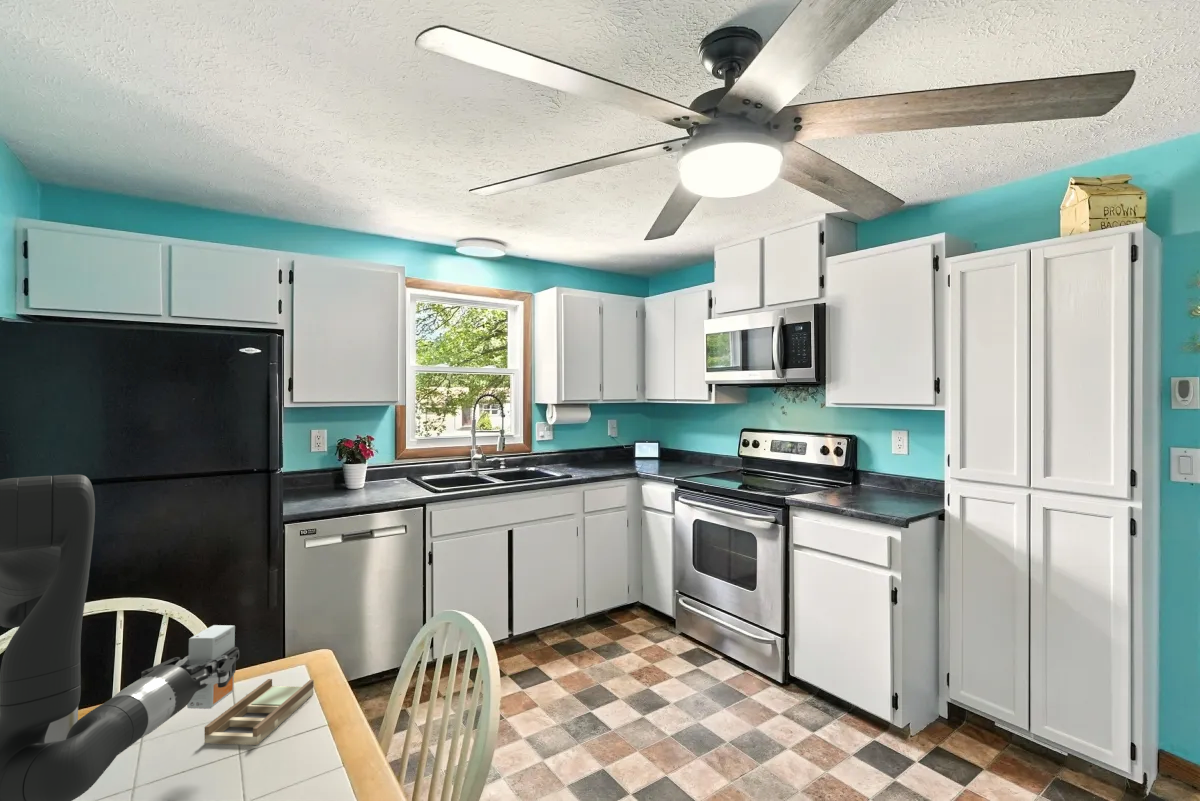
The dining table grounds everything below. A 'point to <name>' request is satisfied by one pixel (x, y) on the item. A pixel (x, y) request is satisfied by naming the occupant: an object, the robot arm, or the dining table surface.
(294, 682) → the dining table surface
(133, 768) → the dining table surface
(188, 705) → the skincare box
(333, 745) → the dining table surface
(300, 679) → the dining table surface
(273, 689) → the board
